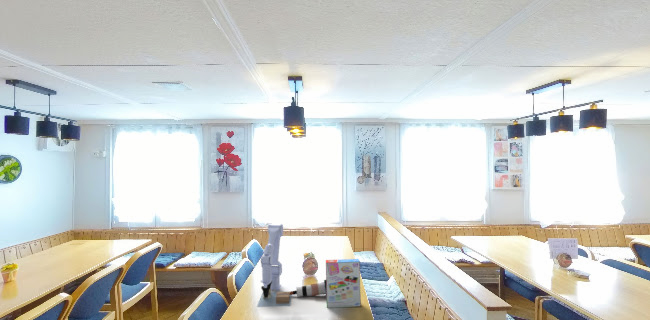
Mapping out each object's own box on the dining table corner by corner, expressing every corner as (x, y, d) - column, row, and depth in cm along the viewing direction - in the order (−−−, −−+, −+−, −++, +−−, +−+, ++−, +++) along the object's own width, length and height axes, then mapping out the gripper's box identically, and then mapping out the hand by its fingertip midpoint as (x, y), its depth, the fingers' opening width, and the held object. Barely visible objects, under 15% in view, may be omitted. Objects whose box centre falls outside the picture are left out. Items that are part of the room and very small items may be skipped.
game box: (359, 303, 201) (359, 258, 201) (361, 307, 195) (360, 261, 196) (326, 304, 200) (325, 259, 200) (326, 308, 195) (325, 262, 195)
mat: (262, 293, 218) (262, 292, 218) (292, 292, 219) (292, 291, 219) (256, 307, 196) (256, 306, 196) (290, 306, 197) (290, 305, 197)
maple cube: (264, 295, 213) (264, 288, 213) (271, 295, 213) (270, 288, 213) (263, 298, 209) (262, 291, 209) (270, 297, 209) (270, 290, 209)
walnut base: (277, 298, 208) (277, 291, 208) (290, 297, 209) (289, 291, 209) (276, 303, 200) (275, 296, 200) (289, 303, 201) (289, 296, 201)
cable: (290, 302, 213) (288, 286, 218) (340, 294, 216) (338, 278, 220) (288, 301, 204) (287, 284, 209) (341, 293, 207) (339, 276, 211)
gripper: (262, 270, 218) (262, 290, 218) (258, 277, 204) (258, 299, 204) (272, 270, 219) (273, 290, 218) (270, 277, 204) (270, 299, 204)
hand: (267, 295), depth 211 cm, fingers open, 7 cm apart
